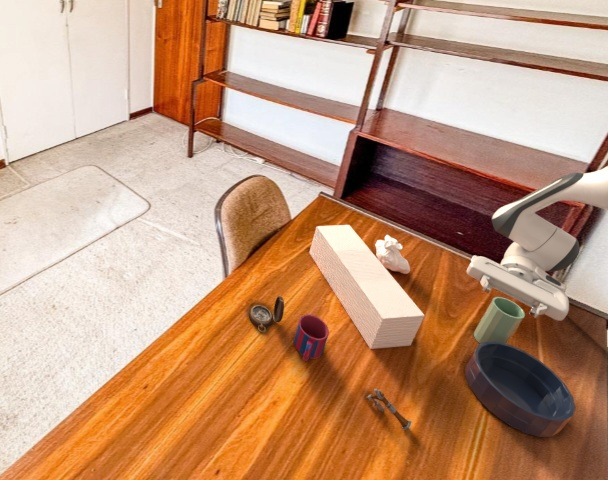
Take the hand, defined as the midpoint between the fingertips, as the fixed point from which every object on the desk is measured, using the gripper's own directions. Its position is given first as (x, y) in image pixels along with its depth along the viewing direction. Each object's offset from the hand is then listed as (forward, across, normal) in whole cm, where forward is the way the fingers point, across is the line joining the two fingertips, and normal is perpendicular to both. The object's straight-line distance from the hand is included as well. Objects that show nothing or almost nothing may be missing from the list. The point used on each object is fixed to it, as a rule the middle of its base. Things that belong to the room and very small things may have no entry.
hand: (509, 302), depth 100 cm
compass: (+47, -40, +8) cm, 62 cm away
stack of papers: (+20, -29, +8) cm, 36 cm away
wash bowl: (+20, +6, +8) cm, 23 cm away
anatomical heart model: (+1, -27, +8) cm, 28 cm away
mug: (+46, -29, +8) cm, 55 cm away
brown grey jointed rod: (+46, -10, +8) cm, 48 cm away
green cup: (+8, 0, +8) cm, 11 cm away
